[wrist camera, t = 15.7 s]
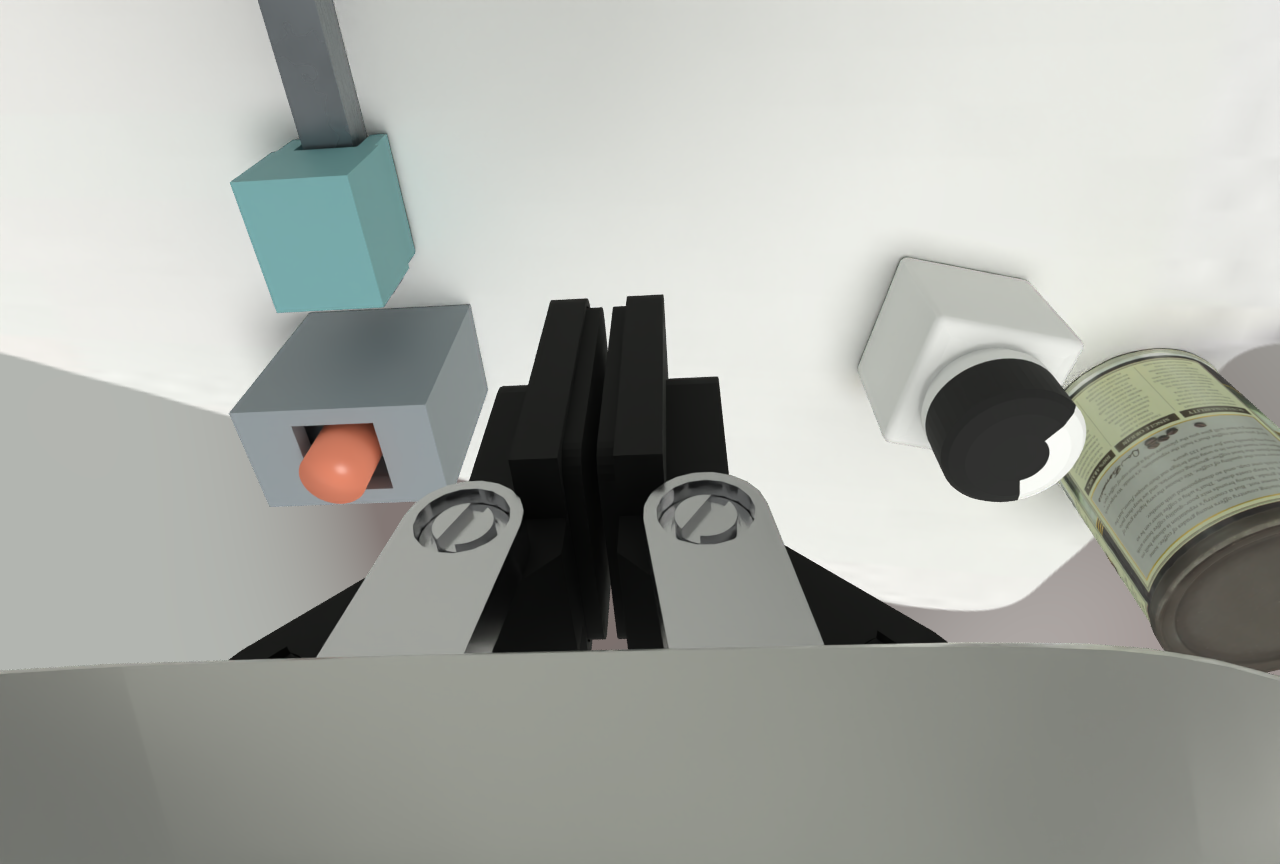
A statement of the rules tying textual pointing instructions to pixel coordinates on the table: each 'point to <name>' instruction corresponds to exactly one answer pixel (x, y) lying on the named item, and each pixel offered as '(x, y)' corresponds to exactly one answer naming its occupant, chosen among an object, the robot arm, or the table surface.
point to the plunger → (341, 462)
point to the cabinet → (368, 399)
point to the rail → (315, 72)
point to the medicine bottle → (975, 379)
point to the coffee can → (1184, 501)
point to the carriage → (327, 225)
